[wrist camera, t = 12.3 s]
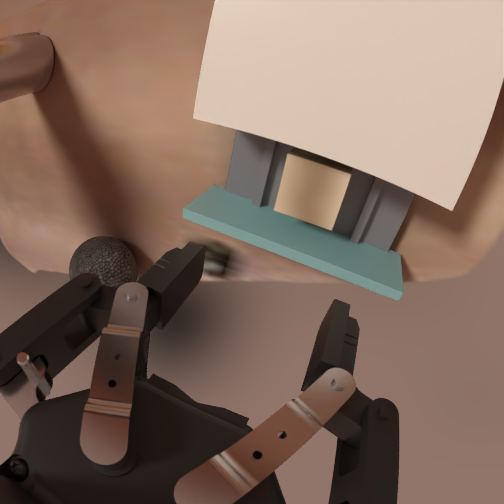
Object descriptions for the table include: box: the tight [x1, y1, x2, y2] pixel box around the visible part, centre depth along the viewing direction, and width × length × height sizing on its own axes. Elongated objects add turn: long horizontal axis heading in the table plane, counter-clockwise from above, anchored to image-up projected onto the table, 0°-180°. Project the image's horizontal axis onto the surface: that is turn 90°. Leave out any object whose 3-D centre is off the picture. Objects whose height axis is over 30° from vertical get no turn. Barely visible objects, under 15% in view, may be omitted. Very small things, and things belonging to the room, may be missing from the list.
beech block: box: [274, 147, 353, 231], centre depth 25 cm, size 5×5×4 cm
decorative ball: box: [69, 236, 137, 288], centre depth 40 cm, size 10×10×10 cm
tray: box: [183, 130, 415, 301], centre depth 23 cm, size 17×20×6 cm
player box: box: [193, 0, 504, 211], centre depth 18 cm, size 18×20×7 cm
